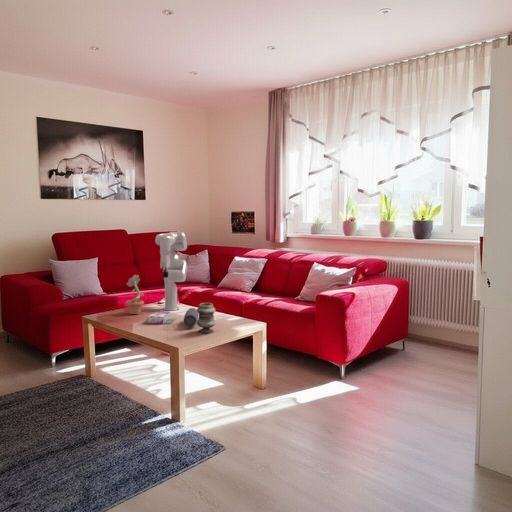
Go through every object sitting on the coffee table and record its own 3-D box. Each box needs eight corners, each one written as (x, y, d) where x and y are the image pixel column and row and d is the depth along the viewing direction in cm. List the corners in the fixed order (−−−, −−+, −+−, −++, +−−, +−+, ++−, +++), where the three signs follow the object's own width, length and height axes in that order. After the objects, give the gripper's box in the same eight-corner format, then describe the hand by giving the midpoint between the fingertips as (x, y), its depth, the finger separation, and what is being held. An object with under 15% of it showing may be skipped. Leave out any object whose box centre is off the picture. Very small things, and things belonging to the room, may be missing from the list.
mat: (148, 318, 326) (148, 318, 326) (176, 319, 325) (176, 318, 325) (142, 323, 312) (142, 322, 312) (171, 324, 311) (171, 323, 311)
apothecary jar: (195, 333, 286) (195, 305, 285) (198, 328, 298) (198, 302, 297) (214, 334, 286) (214, 305, 284) (216, 329, 298) (216, 302, 296)
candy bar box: (154, 318, 327) (147, 323, 311) (154, 311, 327) (147, 316, 310) (170, 318, 326) (163, 323, 310) (170, 311, 325) (163, 316, 309)
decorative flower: (137, 311, 353) (136, 272, 350) (148, 313, 345) (148, 274, 342) (121, 314, 341) (120, 274, 338) (133, 316, 333) (132, 276, 330)
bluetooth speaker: (197, 328, 299) (197, 314, 298) (183, 329, 298) (182, 314, 297) (199, 321, 321) (199, 307, 320) (185, 321, 320) (185, 307, 320)
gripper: (163, 251, 340) (163, 275, 342) (157, 253, 325) (158, 278, 327) (172, 251, 339) (173, 276, 341) (168, 253, 325) (168, 278, 326)
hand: (165, 277), depth 334 cm, fingers closed
